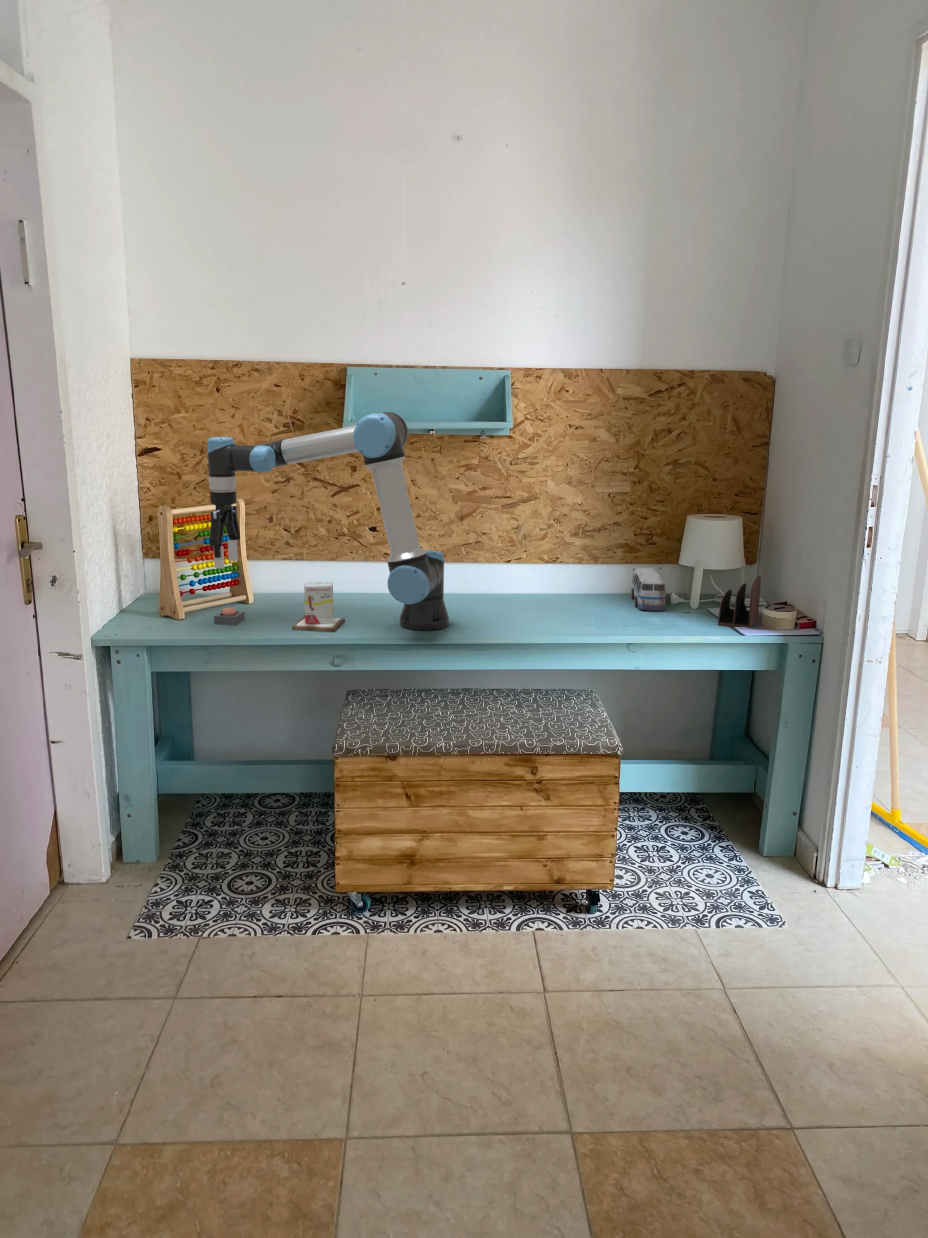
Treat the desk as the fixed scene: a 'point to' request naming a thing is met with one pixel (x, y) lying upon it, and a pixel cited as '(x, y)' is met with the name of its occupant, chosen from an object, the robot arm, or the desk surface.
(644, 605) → the toy bus
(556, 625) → the desk surface
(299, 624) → the board
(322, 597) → the ink box
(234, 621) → the button base
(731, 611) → the letter holder
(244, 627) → the desk surface
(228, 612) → the button
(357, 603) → the desk surface
